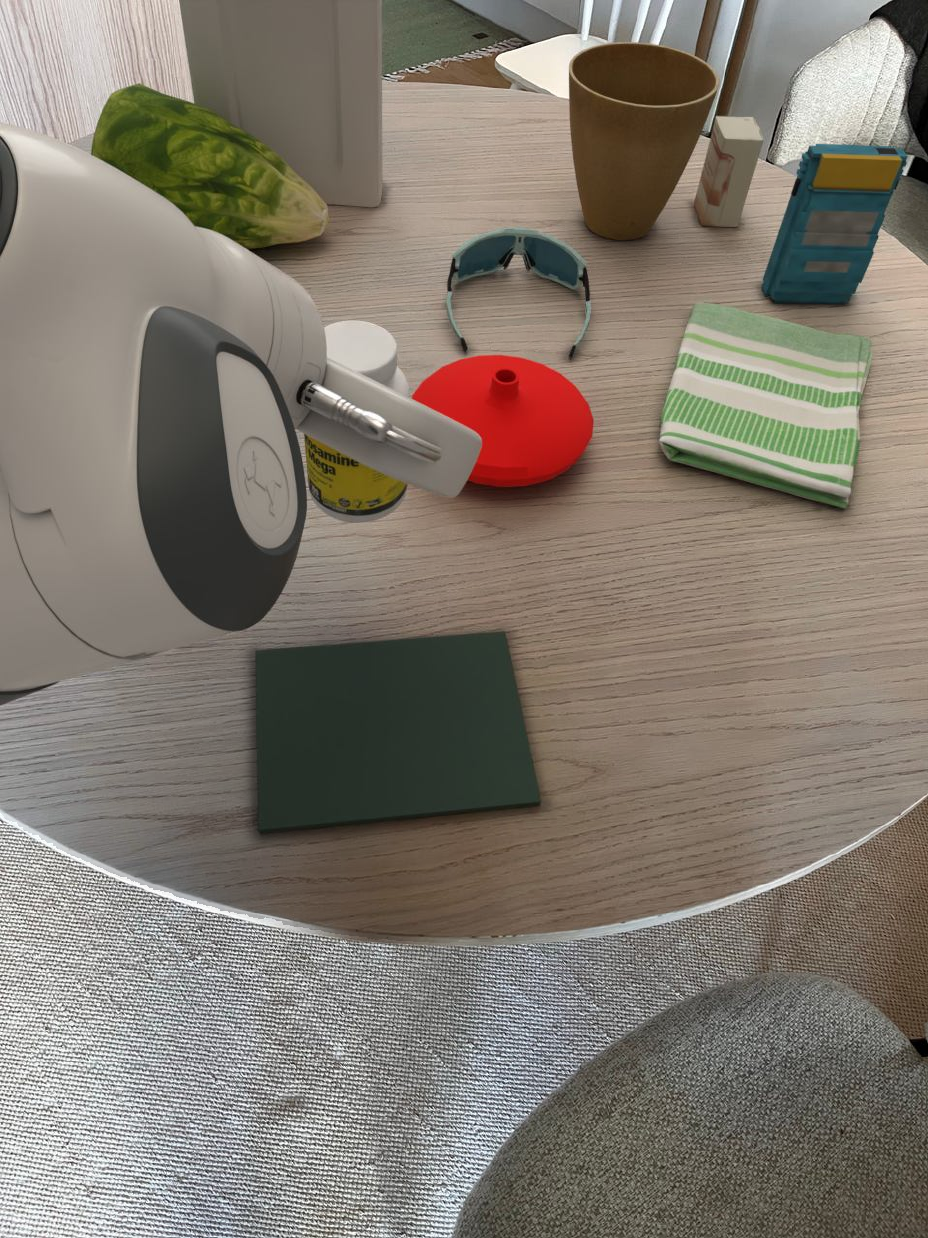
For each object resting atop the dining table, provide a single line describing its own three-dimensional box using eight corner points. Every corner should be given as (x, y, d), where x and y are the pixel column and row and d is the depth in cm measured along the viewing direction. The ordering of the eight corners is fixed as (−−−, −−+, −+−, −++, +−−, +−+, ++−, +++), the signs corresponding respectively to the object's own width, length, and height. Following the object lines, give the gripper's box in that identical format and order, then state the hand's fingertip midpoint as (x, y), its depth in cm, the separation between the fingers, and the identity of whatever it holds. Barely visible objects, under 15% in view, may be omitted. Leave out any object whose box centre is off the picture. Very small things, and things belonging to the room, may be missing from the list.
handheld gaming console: (845, 285, 104) (903, 144, 92) (857, 308, 102) (918, 166, 90) (756, 283, 103) (803, 141, 92) (765, 306, 101) (815, 163, 89)
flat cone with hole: (465, 363, 92) (470, 297, 87) (617, 426, 88) (633, 361, 82) (372, 458, 83) (371, 391, 78) (536, 533, 79) (547, 468, 73)
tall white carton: (390, 143, 118) (391, -144, 96) (379, 207, 108) (377, -94, 86) (230, 130, 117) (194, -161, 95) (205, 194, 108) (159, -113, 86)
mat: (259, 834, 61) (258, 830, 61) (256, 654, 70) (255, 650, 70) (540, 805, 64) (541, 801, 63) (504, 635, 72) (505, 631, 72)
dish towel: (868, 356, 97) (879, 332, 94) (851, 516, 82) (863, 492, 80) (690, 314, 99) (697, 290, 97) (644, 461, 85) (650, 437, 83)
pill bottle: (288, 490, 62) (271, 342, 53) (360, 445, 65) (355, 297, 56) (356, 542, 59) (351, 395, 51) (428, 492, 62) (434, 346, 54)
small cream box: (692, 203, 113) (714, 113, 105) (729, 204, 113) (754, 115, 105) (700, 227, 110) (724, 136, 102) (738, 228, 110) (765, 138, 102)
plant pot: (670, 191, 114) (704, 43, 102) (692, 262, 105) (733, 109, 93) (543, 185, 114) (562, 35, 101) (554, 256, 104) (577, 101, 92)
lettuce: (307, 315, 102) (322, 211, 91) (79, 248, 99) (66, 132, 88) (334, 227, 110) (352, 120, 98) (122, 162, 106) (116, 44, 95)
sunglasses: (583, 271, 103) (591, 230, 98) (588, 375, 95) (597, 336, 91) (448, 262, 102) (450, 220, 98) (442, 366, 95) (444, 326, 90)
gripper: (442, 376, 41) (537, 434, 54) (93, 210, 47) (253, 298, 60) (378, 513, 42) (486, 538, 55) (45, 333, 48) (212, 393, 61)
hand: (362, 411), depth 58 cm, fingers closed on pill bottle, 6 cm apart
